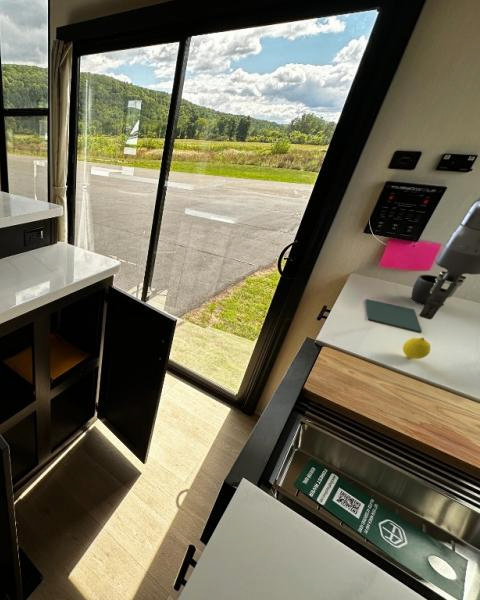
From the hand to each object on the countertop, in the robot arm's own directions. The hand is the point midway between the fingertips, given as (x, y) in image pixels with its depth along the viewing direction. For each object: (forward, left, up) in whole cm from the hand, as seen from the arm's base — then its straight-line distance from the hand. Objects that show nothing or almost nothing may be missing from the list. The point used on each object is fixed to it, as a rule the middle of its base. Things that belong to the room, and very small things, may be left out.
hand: (429, 310), depth 75 cm
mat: (-6, -43, -25) cm, 50 cm away
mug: (-17, -59, -25) cm, 66 cm away
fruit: (-8, -17, -25) cm, 31 cm away
